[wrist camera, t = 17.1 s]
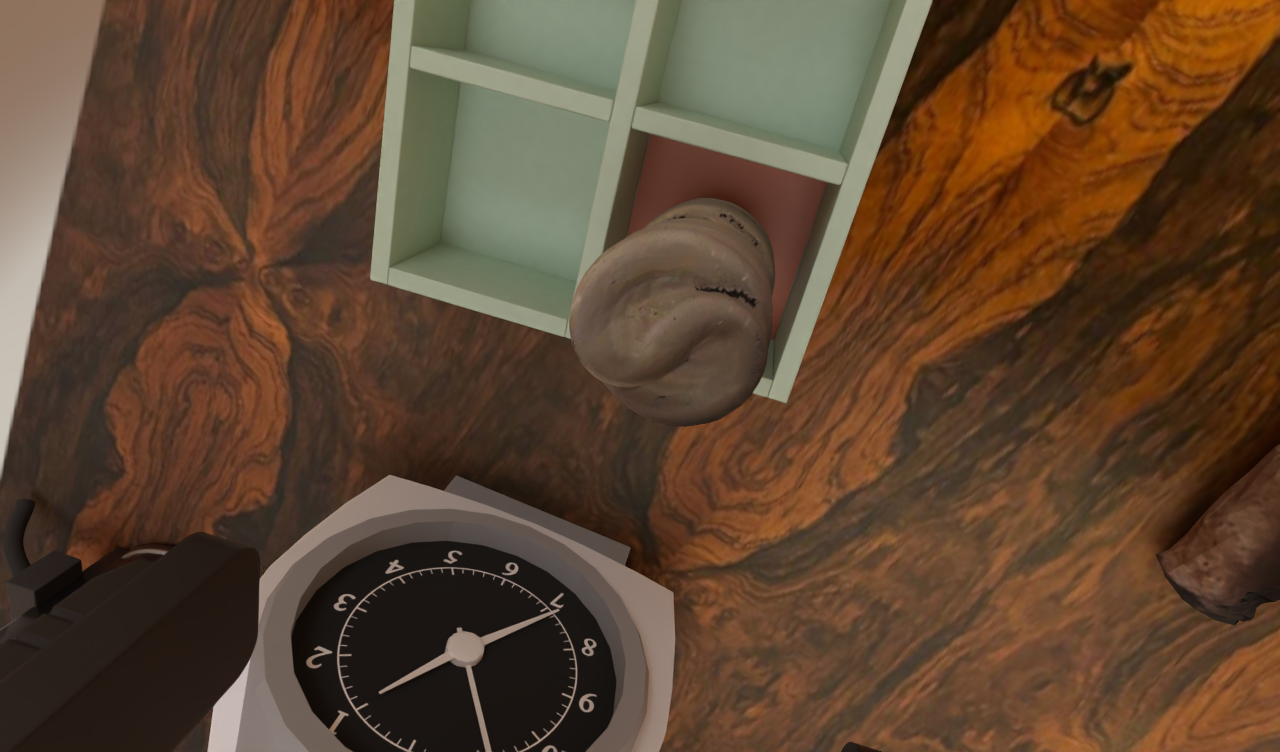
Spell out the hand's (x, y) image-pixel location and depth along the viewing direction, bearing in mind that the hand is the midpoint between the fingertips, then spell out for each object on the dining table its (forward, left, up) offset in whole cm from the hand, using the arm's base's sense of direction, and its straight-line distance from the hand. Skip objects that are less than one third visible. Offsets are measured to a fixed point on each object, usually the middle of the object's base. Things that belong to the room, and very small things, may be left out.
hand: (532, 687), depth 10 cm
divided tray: (-4, +5, -26) cm, 27 cm away
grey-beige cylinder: (0, +1, -25) cm, 25 cm away
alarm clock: (-5, -19, -26) cm, 33 cm away
